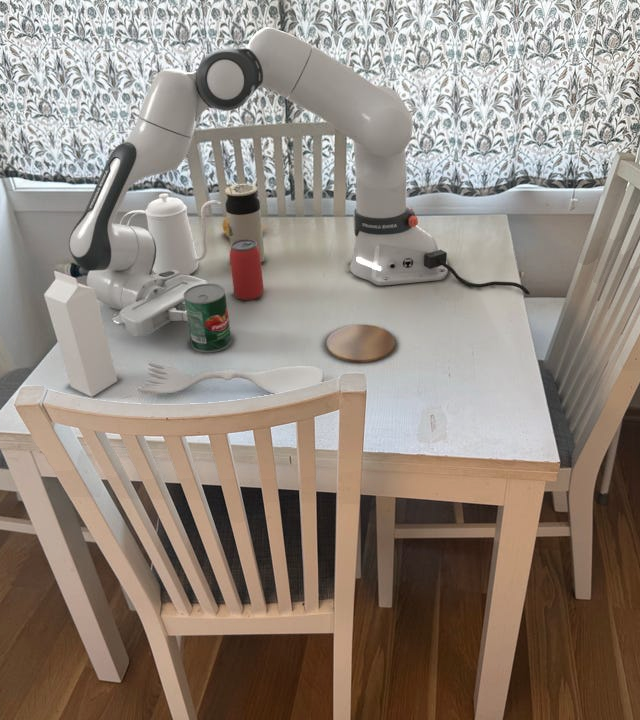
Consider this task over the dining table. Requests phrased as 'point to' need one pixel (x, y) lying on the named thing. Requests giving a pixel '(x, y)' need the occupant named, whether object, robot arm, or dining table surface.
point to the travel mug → (244, 215)
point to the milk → (80, 334)
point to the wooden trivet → (360, 343)
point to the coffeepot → (173, 234)
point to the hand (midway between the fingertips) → (194, 315)
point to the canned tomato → (207, 317)
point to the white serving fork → (266, 380)
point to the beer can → (246, 269)
